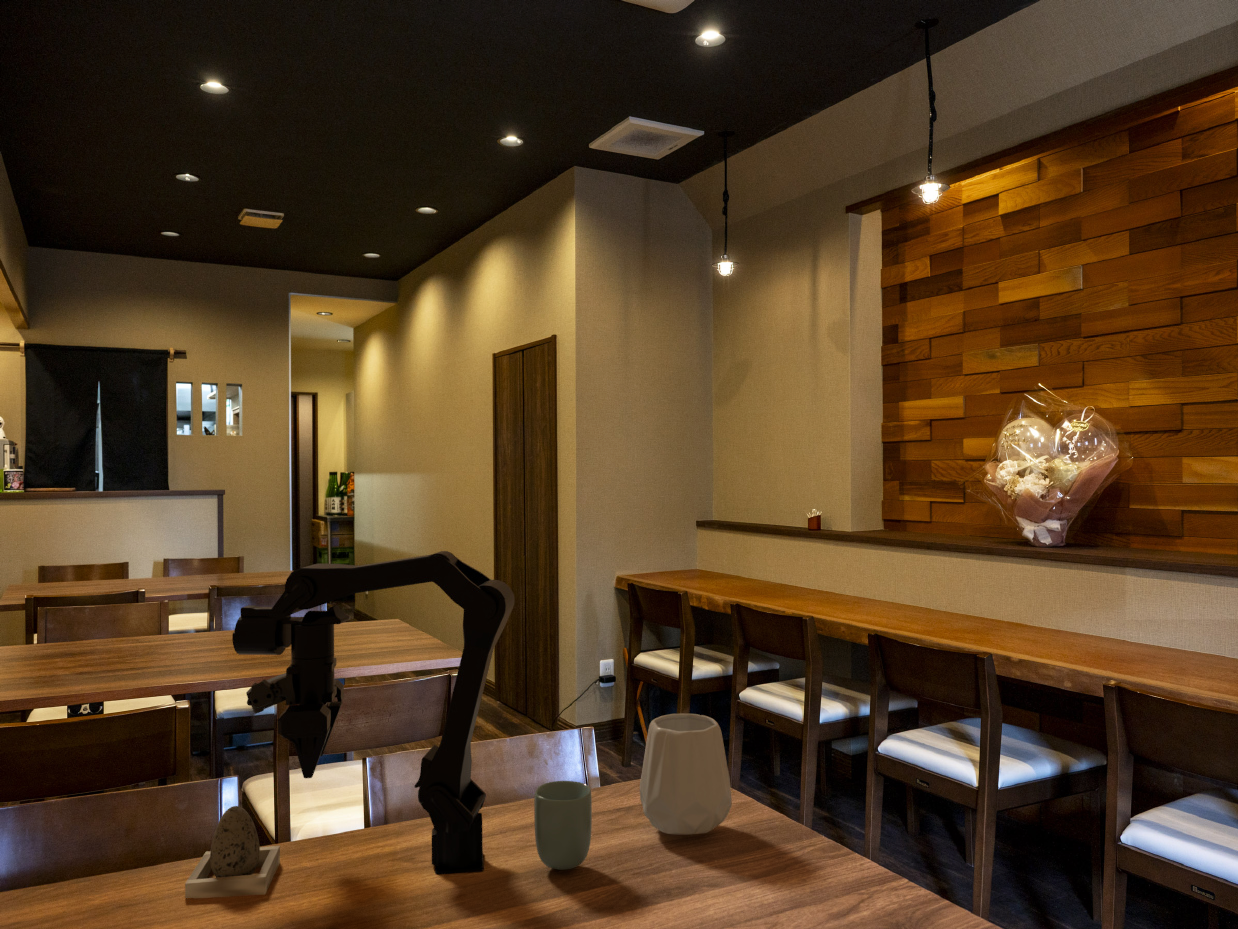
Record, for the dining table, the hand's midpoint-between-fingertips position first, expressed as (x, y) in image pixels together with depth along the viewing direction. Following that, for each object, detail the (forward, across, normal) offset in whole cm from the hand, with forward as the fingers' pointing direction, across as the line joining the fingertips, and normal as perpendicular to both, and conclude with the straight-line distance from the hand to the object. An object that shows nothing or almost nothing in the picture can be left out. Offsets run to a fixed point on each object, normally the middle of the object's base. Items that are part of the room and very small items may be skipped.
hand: (313, 766), depth 126 cm
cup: (+13, +9, +34) cm, 37 cm away
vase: (+13, -2, +54) cm, 56 cm away
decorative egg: (+13, +6, -9) cm, 17 cm away
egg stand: (+12, +6, -9) cm, 17 cm away
